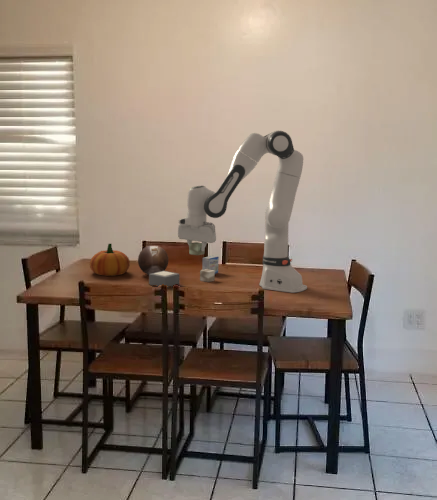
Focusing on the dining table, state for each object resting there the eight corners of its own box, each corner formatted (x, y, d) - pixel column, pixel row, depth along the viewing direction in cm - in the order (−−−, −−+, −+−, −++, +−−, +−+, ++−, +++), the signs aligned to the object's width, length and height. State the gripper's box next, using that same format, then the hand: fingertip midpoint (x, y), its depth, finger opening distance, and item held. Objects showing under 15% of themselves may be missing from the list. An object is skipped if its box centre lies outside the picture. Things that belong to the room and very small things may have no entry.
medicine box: (208, 275, 306) (209, 258, 305) (202, 274, 309) (202, 257, 307) (218, 273, 313) (218, 256, 311) (211, 271, 315) (212, 255, 314)
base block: (179, 284, 287) (179, 273, 286) (165, 288, 279) (165, 276, 278) (163, 280, 293) (163, 270, 292) (149, 284, 285) (149, 273, 284)
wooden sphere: (144, 279, 294) (144, 248, 292) (133, 273, 308) (133, 243, 305) (172, 277, 301) (173, 247, 298) (161, 270, 314) (161, 242, 312)
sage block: (204, 253, 287) (204, 243, 286) (197, 255, 283) (197, 244, 282) (195, 252, 289) (195, 242, 289) (189, 254, 286) (189, 243, 285)
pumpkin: (100, 279, 292) (100, 248, 289) (83, 272, 307) (83, 242, 304) (136, 275, 303) (136, 245, 301) (118, 268, 318) (118, 239, 316)
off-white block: (214, 280, 296) (214, 270, 295) (208, 282, 292) (208, 272, 291) (206, 278, 299) (206, 268, 298) (200, 280, 295) (200, 270, 294)
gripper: (219, 222, 280) (218, 252, 282) (184, 218, 292) (184, 247, 294) (210, 223, 275) (210, 254, 277) (175, 219, 287) (176, 248, 289)
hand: (196, 250), depth 286 cm, fingers closed on sage block, 5 cm apart
